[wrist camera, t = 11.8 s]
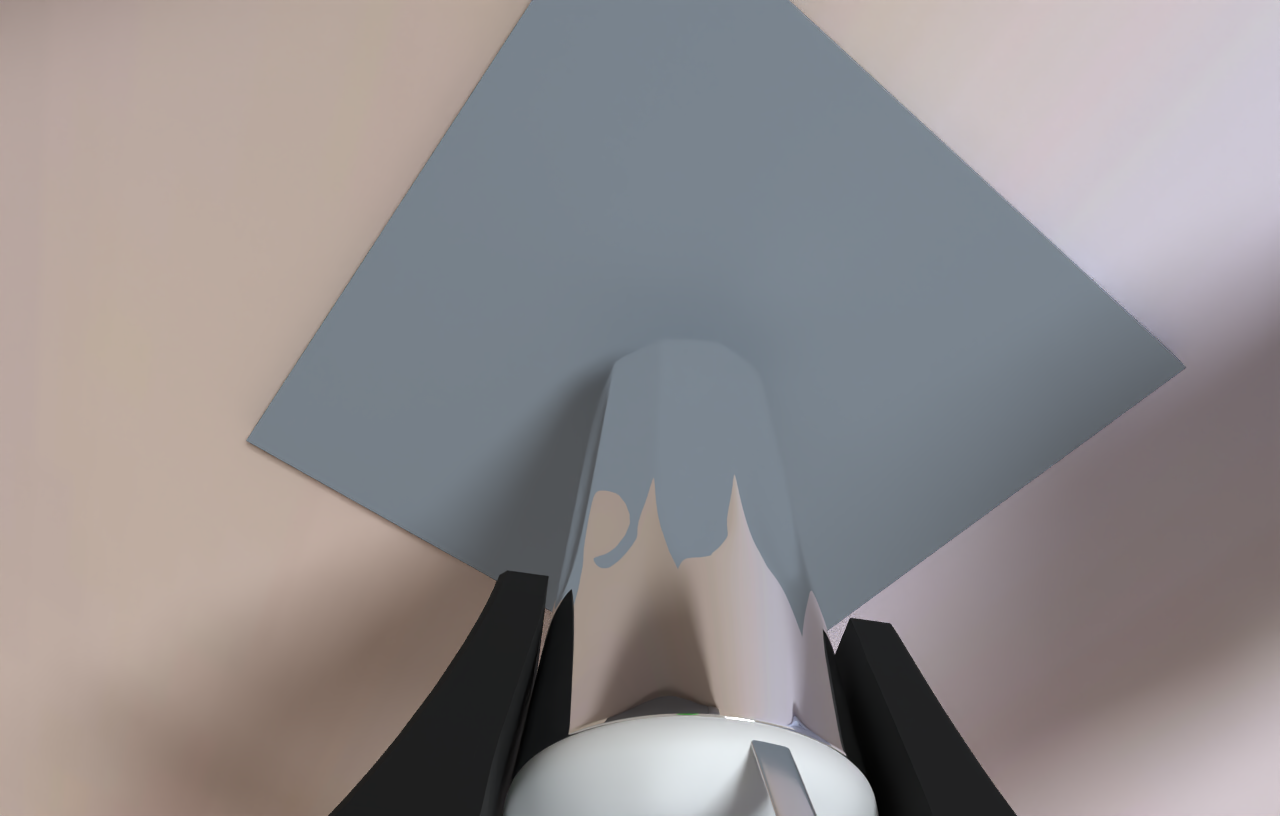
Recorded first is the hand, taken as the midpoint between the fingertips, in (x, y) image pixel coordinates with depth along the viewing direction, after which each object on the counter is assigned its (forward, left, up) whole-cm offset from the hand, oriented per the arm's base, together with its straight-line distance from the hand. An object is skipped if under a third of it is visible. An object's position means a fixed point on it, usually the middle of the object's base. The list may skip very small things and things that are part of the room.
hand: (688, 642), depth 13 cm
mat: (0, 0, -7) cm, 7 cm away
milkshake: (+1, -1, -5) cm, 5 cm away
